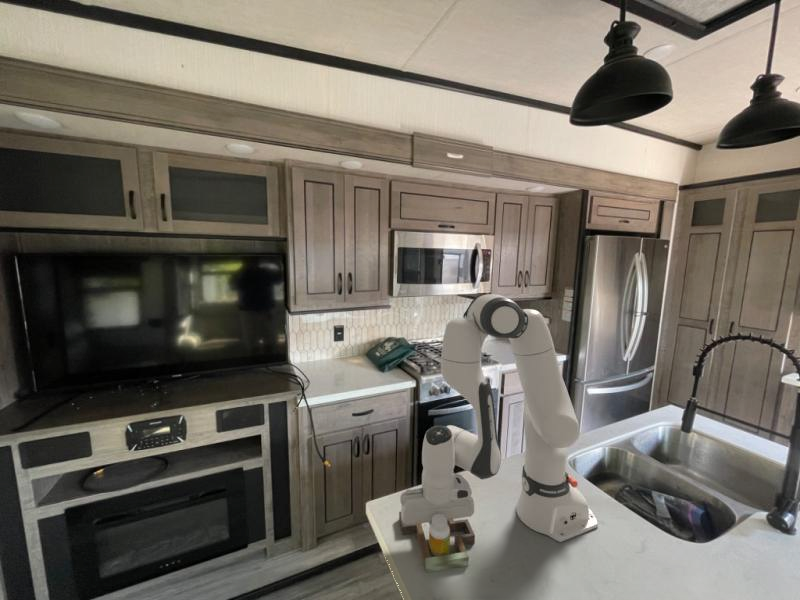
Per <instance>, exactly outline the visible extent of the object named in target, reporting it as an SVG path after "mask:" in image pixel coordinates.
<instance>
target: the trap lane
mask: <svg viewBox="0 0 800 600" xmlns="http://www.w3.org/2000/svg"><path fill="white" fill-rule="evenodd" d="M398 515H399V516H398V517H399V518H398V519H399V525H400V529H401V535H402V536H404V535H412V534H416V538H417V541H418V544H419V549H420V553H421V557H422V561H423V566H424V569H425V572H426V573H432V572H437V571H445V570H449V569H456V568H462V567H468V566H469V565H470V564H469V563H470V562H469V561H470V559H469V557H470V556H469V554H468V552H467V549H466V547H465V546H467V545H472V544H473V545H474V544H475V542H476V538H475V537H476V535H475V533H474V530H473V528H472V526H471V524H470V522H469V519H459V520H454V519H449V520H447V524H448V526H449V528H450V533H451V532H457V531H465V533H466V534H459V535H454V546H455V549H456V552H455V553H449V555H442V556H436V557H432V556H431V555H430V552H429V546H428V543H427V539H426V536H425V532H424V529H423V523H419V524H412V525H405V524H404V523H403V522H402V517H401V511H399V512H398Z"/></svg>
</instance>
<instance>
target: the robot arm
mask: <svg viewBox="0 0 800 600" xmlns="http://www.w3.org/2000/svg"><path fill="white" fill-rule="evenodd" d="M462 315H463V316H462V317H458V318H457V317H456V318H454V319H451V320H450V321H449V322H448V323H447V324H446V326H445V330H444V334H443V338H442V344H441V345H442V346H441V356H440V357H441V358H440V371H441V372H440V373H441V375H442V378H443V380H444V381H445V382H446V384H447V385H448V386H449V387H450V388H451V389H452V390H453V391H455V392H456V393H458V394H459V395H460V396H462V397H463V399H465V400H466V401H467V402H468V403H469V404H470V406H471V407H472V409H473V411H474V413H475V421H476V422H475V423H476V431H477V433H476V434H475V433H472V432H470V431H468V430H465V428H464V429H463V428H461V427H458V426H455V425H452V424H447V425H434V426H431V427H430V428H429V429H428V430H426V432H425V434H424V438H423V442H422V450H421V464H422V467H423V468H422V473H421V487H420V488H414V489H406V490H405V491H404V492H402V493H401V494H400V505H401V508H400V509H401V510H400V512H401V517H402V522H403V523H404V524H405V525H412V524H419V523H421V524H426V523H429V526H430V525H431V523H432V517H433V516H434V515H435V514H443V515H444V516H445V517H446V518H447V520H449V519H455V520H456V519H462V518H469V517H472V516H473V515H474V513H475V501H474V498H473V495H472V493H473V491H472V488H471V486H470V484H469V481H468V479H466V477H465V476H464V474H460V473H455V472H454V469H455V466H458V467H459V468H461V469H463V470H465V471H468V472H469V473H470V474H472V475H474V476H475V477H477V478H478V479H480V480H486V479H491V478H493V477H494V476H496V475H497V474H498V473H499V471H500V468H501V462H502V453H501V447H500V444H499V437H498V431H497V420H496V411H495V401H494V393H493V388H492V385H491V384H490V383H489V382H488V381H487V379H486V377H485V373H484V371H483V367H482V348H483V345H484V342H485V341H486V339H487V338H488V336H490V337H492V338H496V339H508V341H509V342H510V347H511V352H512V355H513V359H514V363H515V367H516V371H517V374H518V378H519V381H520V384H521V388H522V390H523V396H522V397H523V398H522V399H523V423H524V424H523V425H524V427H523V428H524V436H525V437H524V439H525V443H524V444H525V449H524V463H523V464H524V465H523V466H522V472H521V486H522V487H521V492H520V495H519V498H518V500H517V502H516V505H515V510H516V511H515V512H516V515H517V517H518V518H519V519H520V520H521V522H522V523H523V524H525V526H526V527H528V528H530V529H531V530H533V531H535V532H538V533H540V534H543V535H545V536H548V537H550V538H551V539H553V540H554V541H557V542H559V543H562V542H564V541H566V540H569V539H572V538H574V537H577V536H579V535H581V534H584V533H587V532H588V531H591V530H593V529H596V528H597V527H598V520H597V518H596V515H595V514H594V513H593V511H592V510H591V508H589V504H588V502H587V500H586V497H585V496H584V495H583V494H582V492H581V491H579V489H578V488H577V486H578V485H579V482H578V481H577V480H576V479H575V478H574V477H573V476H569V473H568V472H567V471H566V469H567V455H568V453H567V452H568V451H567V448H569V447H571V446H573V445H575V443H577V441H578V440H579V437H580V436H581V435H580V434H581V429H580V425H579V421H578V419H577V416H576V413H575V410H574V406H573V403H572V399H571V398H570V395H569V391H568V388H567V387H566V384H565V381H564V378H563V375H562V373H561V369H560V365H559V361H558V357H557V353H556V349H555V345H554V341H553V337H552V334H551V332H550V328H549V326H548V323H547V321H546V319H545V318H544V316H543V314H542V312H540V311H538V310H536V309H531V308H523V309H522V308H521V307H520V306H519V304H517V302H515V301H513V300H512V299H510V298H507V297H506V296H503V295H501V294H496V293H486V292H485V293H482V294H479V295H477V296H475V297H474V298H473V299H472V301H471V302H470V303H469V305H468V307H467V309H466V310H465V311H464V313H463V314H462Z"/></svg>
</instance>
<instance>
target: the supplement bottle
mask: <svg viewBox="0 0 800 600" xmlns="http://www.w3.org/2000/svg"><path fill="white" fill-rule="evenodd" d="M428 528H429V529H428V530H429V531H428V537H429V538H428V539H429V540H428V545H429V546H428V549H429V553H430V556H431V557H436V556H442V555H449V554H450V549H451V548H450V545H451V541H450V540H451V538H450V537H451V532H450V528H449V526H448V524H447V518H446V517H445V516H444V515H443V514H435V515H434V516H433V517H432V523H431V525H430V524H429V527H428Z"/></svg>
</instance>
